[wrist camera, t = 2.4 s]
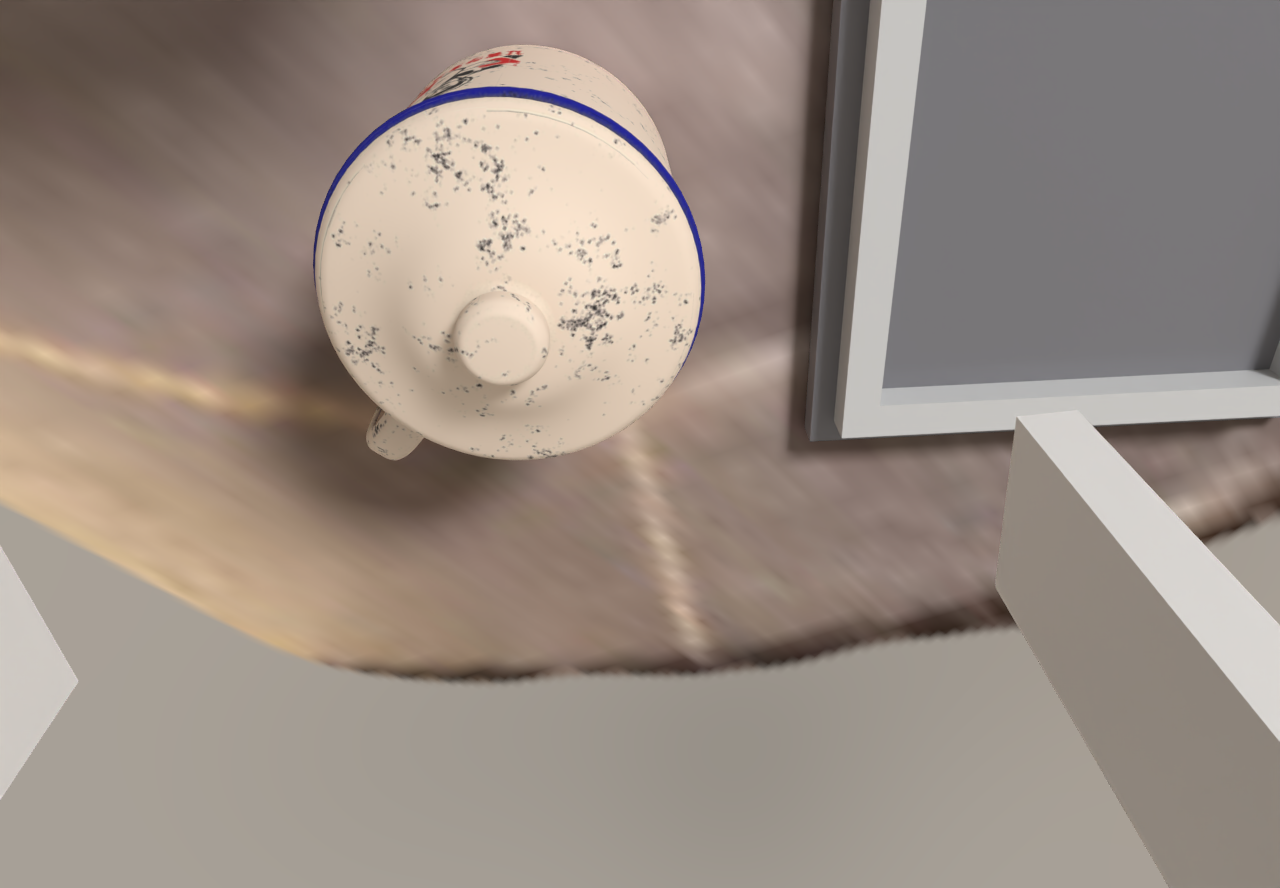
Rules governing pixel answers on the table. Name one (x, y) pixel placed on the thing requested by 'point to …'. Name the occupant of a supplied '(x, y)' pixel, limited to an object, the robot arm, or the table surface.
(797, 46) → the table surface
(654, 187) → the teacup with lid
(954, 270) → the base
